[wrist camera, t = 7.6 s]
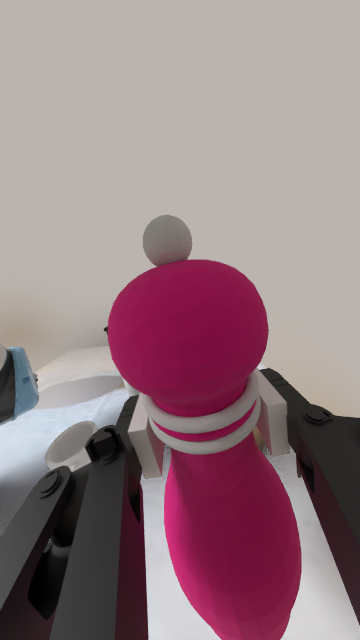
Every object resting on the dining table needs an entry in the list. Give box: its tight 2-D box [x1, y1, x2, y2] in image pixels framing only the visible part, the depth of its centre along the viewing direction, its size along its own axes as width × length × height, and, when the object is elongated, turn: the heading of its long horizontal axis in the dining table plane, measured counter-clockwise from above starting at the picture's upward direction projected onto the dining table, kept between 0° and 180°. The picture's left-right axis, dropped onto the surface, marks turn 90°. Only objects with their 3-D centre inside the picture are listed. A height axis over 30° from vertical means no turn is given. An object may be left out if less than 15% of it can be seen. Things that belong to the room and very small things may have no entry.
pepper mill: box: [108, 215, 301, 640], centre depth 8 cm, size 7×7×20 cm
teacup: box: [45, 421, 98, 472], centre depth 28 cm, size 10×8×5 cm
